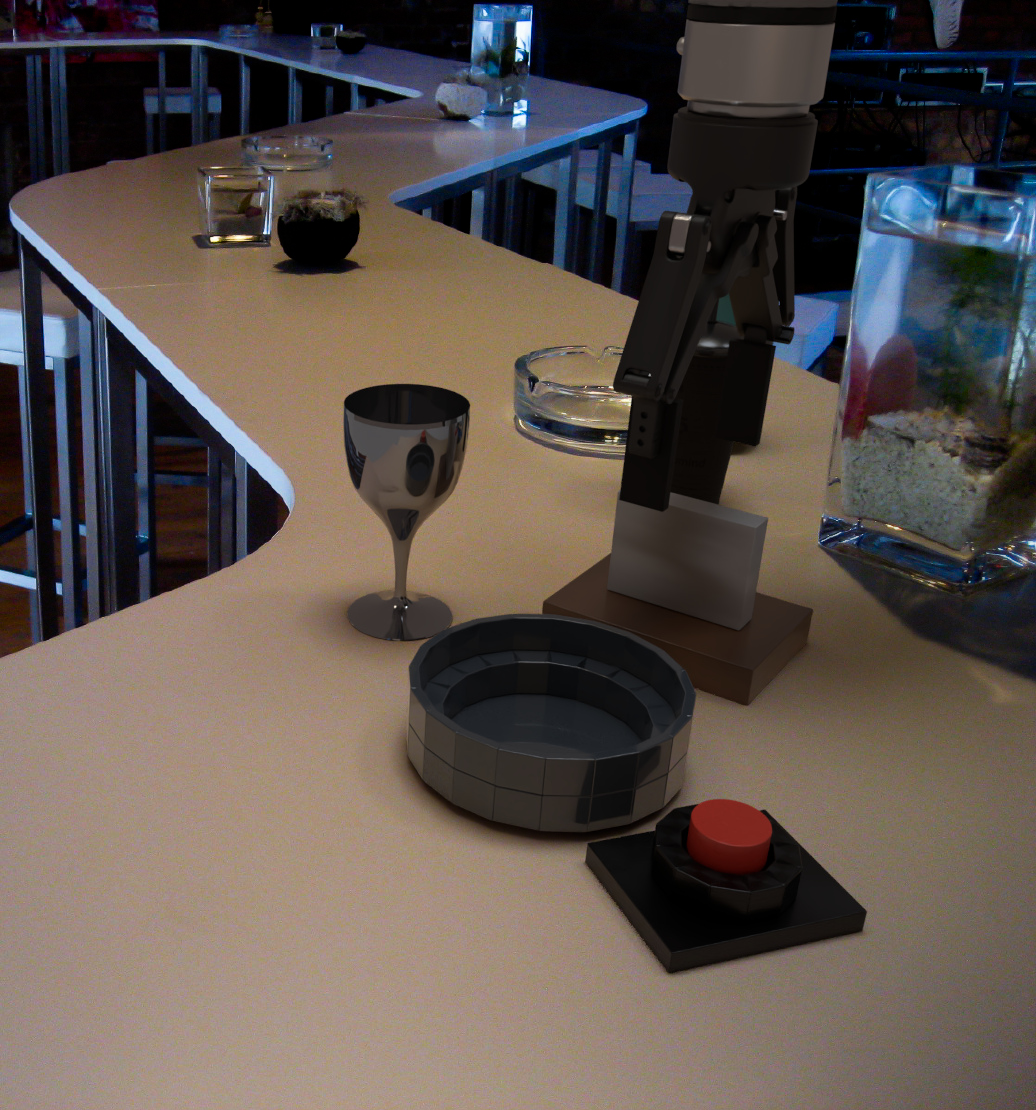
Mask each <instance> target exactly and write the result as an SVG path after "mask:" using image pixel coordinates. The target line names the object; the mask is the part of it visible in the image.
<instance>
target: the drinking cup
mask: <svg viewBox="0 0 1036 1110" xmlns="http://www.w3.org/2000/svg"><path fill="white" fill-rule="evenodd" d="M718 304H719V299H718V300H717V301H716V303H715V305H714V308H713V310H712V312H711V315H710V317H709V319H708V322H707V324H706V327H705V329H704V331H703V334H702V336H701V338H700V341H699V343H698V345H697V348H696V350H695V352H694V355H693V357H692V359H691V362H690V364H689V366H688V369H687V371H686V374H685V376H684V378H683V381H682V383H681V385H680V388H679V390H678V392H677V395H676V397H675V398H678V399H682V400H683V407H682V414H681V421H680V428H679V435H678V443H677V450H676V457H675V464H674V471H673V478H672V485H671V493H675V494H679V495H683V496H687V497H691V498H694V499H698V500H702V501H706V502H710V503H714V504H718V505H720V502H721V501H720V500H721V496H722V492H723V488H724V484H725V480H726V475H727V471H728V469H729V468H728V467H729V464H730V460H731V456H732V451H733V447H734V444H735V442H733V441H729V440H724V439H720V438H716V437H715V433H716V427H717V420H718V414H719V407H720V401H721V394H722V388H723V381H724V374H725V368H726V361H727V355H728V348H729V342H730V340H732V339H733V338H737V339H742V340H744V336H740V335H738V332H737V328H736V325H735V324H732V323H730V322H726V321H721V320H716V319H717V312H718Z"/></svg>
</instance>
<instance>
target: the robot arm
mask: <svg viewBox="0 0 1036 1110" xmlns="http://www.w3.org/2000/svg"><path fill="white" fill-rule="evenodd" d="M838 1H839V0H688V2H687V3H688V5H687V12H686V22H685V30H684V36H681V37H680V38H679V39H678V41H677V43H676V52H677V53H678V54H679V55H681V61H680V70H679V78H678V86H677V93H678V95H679V96H680V97H681V98H682V100H685V101H687V104H686V106H682V107H680V108H679V109H678V110H677V112H675V113H674V114H673V119H672V127H671V134H670V143H669V151H668V158H667V168H666V169H667V172H668V174H669V176H670V177H671V178H672V179H673V180H676V181H678V182H680V183H686V184H687V185H688V186H689V187H690V188H691V193H692V194H691V196H690V199H689V204H688V207H687V210H686V212H680V211H672V210H664V211H663V212H662V213H661V214H660V217H659V221H658V225H657V232H656V237H655V243H654V249H653V255H652V257H651V260H650V264H649V267H648V271H647V273H646V277H645V280H644V283H643V286H642V289H641V293H640V296H639V299H638V302H637V305H636V308H635V312H634V315H633V318H632V321H631V323H630V327H629V330H628V334H627V337H626V340H625V343H624V346H623V349H622V353H621V356H620V359H619V362H618V365H617V369H616V372H615V375H614V378H613V382H612V389H613V391H614V392H615V393H617V394H622V395H626V396H631V399H630V407H629V409H630V410H629V416H628V424H627V433H626V440H625V441H626V442H625V450H624V457H623V466H622V475H621V482H620V489H619V491H620V497H619V500H621V501H624V502H628V503H632V504H635V505H639V506H643V507H646V508H650V509H653V510H657V511H661V512H663V511H665V510H666V509H668V507H669V500H670V493H671V485H672V478H673V471H674V464H675V457H676V450H677V443H678V435H679V428H680V421H681V414H682V407H683V400H682V399H678V398H675V397H676V395H677V392H678V390H679V388H680V385H681V383H682V381H683V378H684V376H685V374H686V371H687V369H688V366H689V364H690V362H691V359H692V357H693V355H694V352H695V350H696V348H697V345H698V343H699V341H700V338H701V336H702V334H703V331H704V329H705V327H706V324H707V322H708V319H709V317H710V315H711V312H712V310H713V308H714V305H715V303H716V301H717V300H718V299H719V298H722V297H725V296H726V295H728V293H729V297H730V302H731V306H732V310H733V315H734V319H735V323H736V328H737V332H738V335H740V336H744V340H742V339H737V338H733V339H732V340H730V342H729V348H728V355H727V361H726V368H725V374H724V381H723V388H722V394H721V401H720V407H719V414H718V420H717V427H716V433H715V437H716V438H720V439H724V440H729V441H733V442H734V443H738V444H742V445H746V446H751V447H753V448H756V447H757V446H759V445H760V443H761V438H762V432H763V426H764V419H765V415H766V414H765V413H766V409H767V404H768V403H767V402H768V397H769V391H770V385H771V379H772V374H773V373H772V372H773V367H774V361H775V355H776V350H777V345H774V344H773V345H772V342H773V343H778V344H784V345H788V346H789V345H790V344H791V343H792V342H793V339H794V336H795V327H794V326H791V325H792V323H794V320H795V316H796V314H795V312H796V311H795V310H796V308H795V307H796V305H795V303H796V302H795V301H796V300H795V299H796V298H795V243H794V242H795V239H794V238H795V233H794V232H795V231H794V225H795V224H794V219H795V212H796V206H797V205H796V203H797V196H798V187H799V186H801V185H802V184H804V183H805V182H806V181H807V180H808V178H809V175H810V173H811V172H810V170H811V165H812V164H811V163H812V159H813V153H814V149H815V148H814V147H815V141H816V135H817V130H818V123H819V120H818V119H816V115H815V114H814V113H813V112H811V111H810V107H811V106H812V105H816V104H818V103H819V102H820V101H821V100H823V98H824V95H825V89H826V82H827V77H828V71H829V63H830V57H831V50H832V45H833V39H834V32H835V26H836V22H835V21H836V17H837V11H838V6H837V5H838ZM778 301H779V303H778Z"/></svg>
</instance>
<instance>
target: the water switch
mask: <svg viewBox="0 0 1036 1110" xmlns="http://www.w3.org/2000/svg"><path fill="white" fill-rule="evenodd" d="M698 804H699V803H695V804H689V805H685V806H679V807H674V808H673V809H672V810H670V811H669V812H668V813H667V814H666V815H665V816H664V817H662V818H661V819H660V820H659V821H657V822H656V823H655V828H654V830H649V831H648V830H647V831H644V832H638V833H632V834H629V835H623V836H618V837H613V838H612V837H611V838H608V839H602V840H596V841H592V842H587V843H586V850H585V851H586V852H585V861H584V863H585V864H586V866H587V867H588V868H589V870H590V871H591V872H592V873H593V875H594V876H595V878H596V879H597V880H598V881H599V883H600V884H601V885H602V887H603V888H604V889H605V891H606V892H607V893H608V895H609V896H610V897H611V899H612V900H613V902H614V903H615V904H616V906H617V907H618V908H619V909H620V911H621V913H623V916H625V917H626V919H627V921H629V923H630V925H631V926H632V927H633V928H634V930H635V931H636V932H637V934H638V935H639V937H640V938H641V939H642V940H643V941H644V943H645V944H646V945H647V947H648V948H649V949H650V951H651V952H652V953H653V955H654V956H655V958H656V959H657V960H658V961H659V963H660V964H661V966H662V967H663V968H664V969H665V971H666V973H668V974H669V975H670V974H675V973H679V972H684V971H688V970H692V969H698V968H702V967H705V966H710V965H715V964H719V963H724V962H728V961H733V960H739V959H743V958H748V957H752V956H756V955H761V954H765V953H769V952H770V953H771V952H773V951H779V950H783V949H788V948H792V947H796V946H797V947H798V946H802V945H806V944H811V943H814V942H815V943H816V942H820V941H823V940H828V939H834V938H838V937H842V936H847V935H851V934H856V933H860V932H863V931H864V926H865V923H866V918H867V914H868V910H867V909H865V907H864V906H863V905H861V903H859V901H858V900H856V898H855V897H853V896H852V895H851V893H850V892H848V890H847V889H846V888H845V887H843V885H842V884H841V883H840V882H839V881H837V880H836V878H835V877H833V875H831V874H830V873H829V871H827V869H825V868H824V866H822V864H820V863H819V862H818V861H817V860H816V859H815V858H814V856H813V855H812V854H811V853H810V852H808V850H806V848H804V847H803V846H802V844H801V843H800V842H798V840H796V838H795V837H793V836H792V835H791V834H790V832H789V831H788V830H786V829H785V827H783V825H782V824H780V823H779V821H777V820H776V818H774V817H773V816H772V814H770V813H769V812H768V811H767V810H766V809H760V810H759V809H758V810H759V811H760V812H762V813H763V814H764V815H765V816H766V817H767V818H768V820H769V821H770V823H771V826H772V835H771V841H770V846H769V851H768V856H767V861H766V864H765V866H764V867H763V869H762V870H760V871H759V872H755V873H750V874H745V875H737V874H730V873H724V872H717V871H715V870H713V869H711V868H709V867H707V866H705V865H703V864H701V863H698V862H696V861H694V860H693V859H692V857H691V856H690V854H689V853H688V850H687V838H688V832H689V825H690V819H691V813H692V811H693V809H694V808H695V807H696V806H697V805H698Z"/></svg>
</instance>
